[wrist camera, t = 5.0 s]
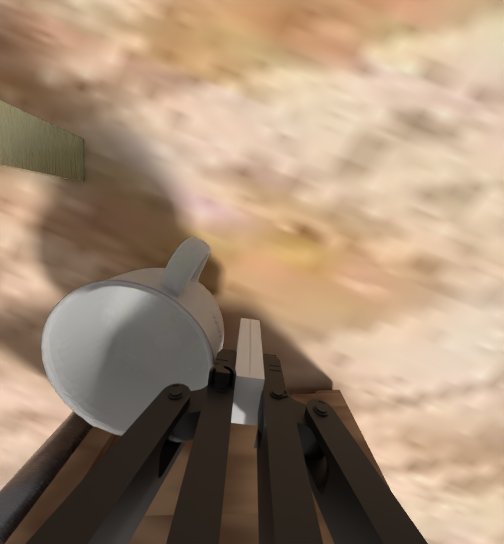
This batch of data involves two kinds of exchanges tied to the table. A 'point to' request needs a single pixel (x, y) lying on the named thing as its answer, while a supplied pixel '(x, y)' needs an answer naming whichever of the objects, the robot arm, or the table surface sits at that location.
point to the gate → (157, 521)
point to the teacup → (133, 339)
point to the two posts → (64, 441)
